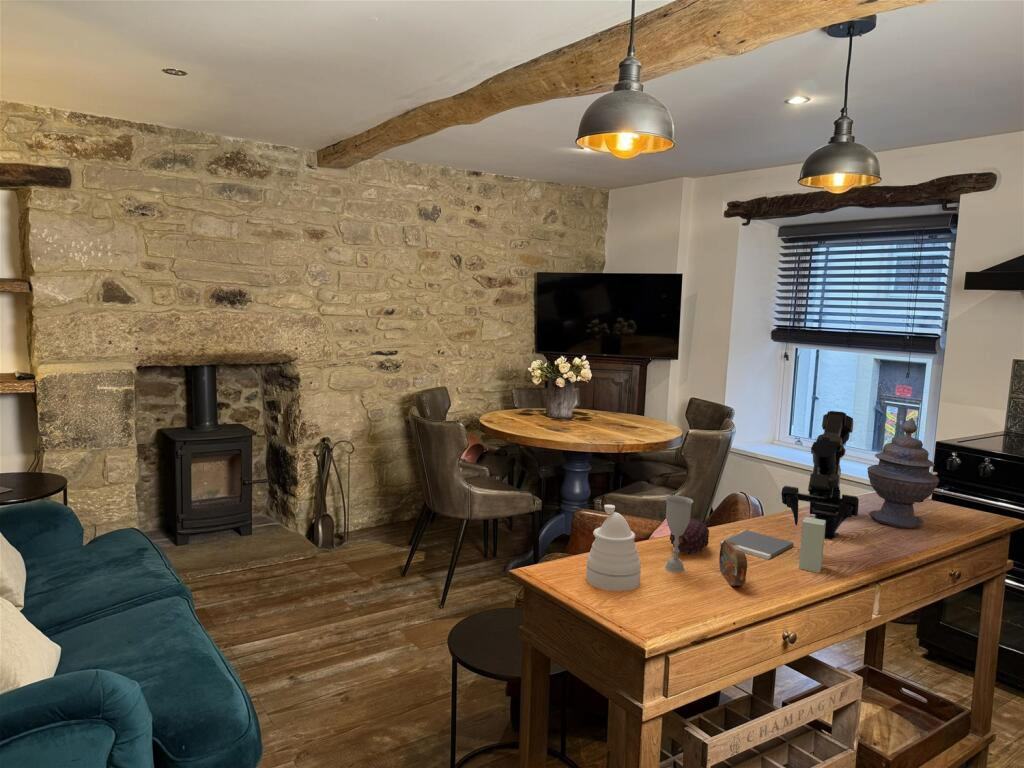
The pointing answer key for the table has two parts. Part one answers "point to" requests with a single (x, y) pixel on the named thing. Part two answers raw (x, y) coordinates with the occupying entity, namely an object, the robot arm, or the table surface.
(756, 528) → the table surface
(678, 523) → the chalice
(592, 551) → the honey pot
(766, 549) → the mat
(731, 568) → the tin
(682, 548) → the pine cone
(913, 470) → the decorative urn
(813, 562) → the sage block
